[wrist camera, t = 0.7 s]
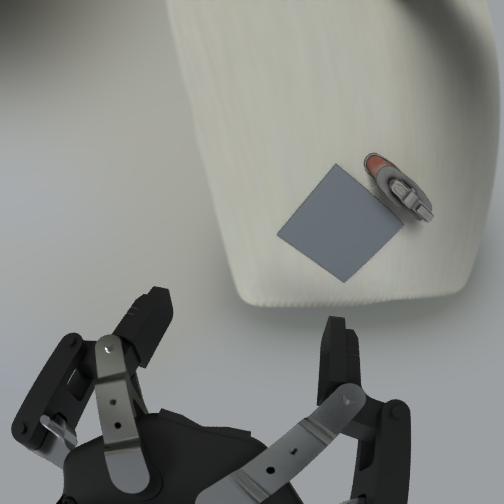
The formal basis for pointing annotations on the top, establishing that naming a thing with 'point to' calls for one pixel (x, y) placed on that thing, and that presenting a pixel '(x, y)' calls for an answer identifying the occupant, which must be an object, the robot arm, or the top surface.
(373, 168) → the lighter
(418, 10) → the top surface
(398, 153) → the top surface
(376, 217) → the mat
